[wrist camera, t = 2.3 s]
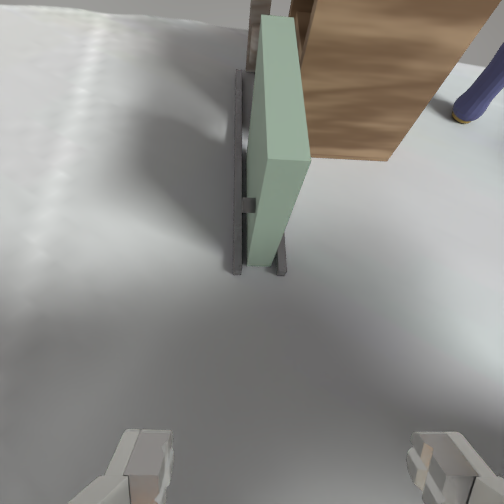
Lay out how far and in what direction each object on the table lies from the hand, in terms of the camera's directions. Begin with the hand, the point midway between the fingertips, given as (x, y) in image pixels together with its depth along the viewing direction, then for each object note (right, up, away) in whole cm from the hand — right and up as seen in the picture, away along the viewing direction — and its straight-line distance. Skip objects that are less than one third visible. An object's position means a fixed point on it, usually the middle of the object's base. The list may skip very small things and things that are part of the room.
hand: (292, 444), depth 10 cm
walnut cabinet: (+7, +26, +32) cm, 42 cm away
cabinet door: (-1, +11, +24) cm, 27 cm away
